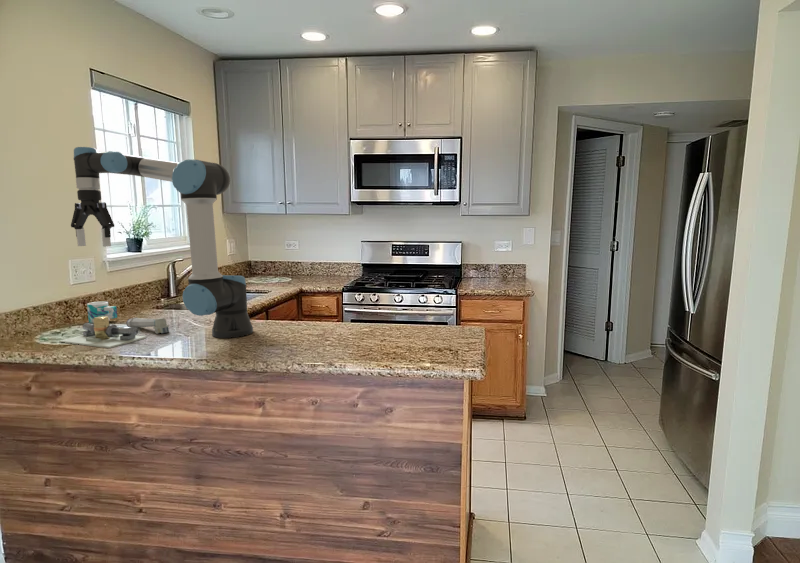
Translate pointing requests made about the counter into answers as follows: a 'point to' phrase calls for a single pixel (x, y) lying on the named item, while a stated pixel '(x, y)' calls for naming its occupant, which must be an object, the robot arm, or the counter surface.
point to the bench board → (100, 341)
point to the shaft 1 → (88, 329)
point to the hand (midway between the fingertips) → (94, 246)
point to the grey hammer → (149, 324)
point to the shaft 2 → (121, 332)
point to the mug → (100, 310)
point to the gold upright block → (101, 327)
